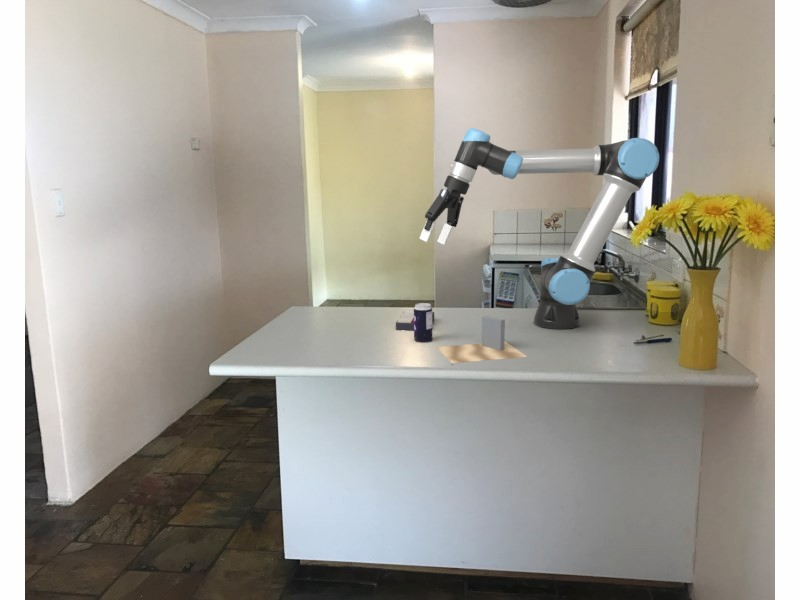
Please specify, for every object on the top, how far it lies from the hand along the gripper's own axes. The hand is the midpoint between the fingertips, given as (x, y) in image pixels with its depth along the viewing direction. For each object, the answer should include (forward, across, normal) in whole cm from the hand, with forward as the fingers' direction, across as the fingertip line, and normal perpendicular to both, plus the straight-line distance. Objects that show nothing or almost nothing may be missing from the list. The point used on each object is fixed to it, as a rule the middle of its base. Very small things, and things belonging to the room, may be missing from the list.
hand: (432, 241), depth 186 cm
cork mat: (+22, +9, +32) cm, 40 cm away
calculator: (+31, -13, +1) cm, 33 cm away
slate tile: (+20, +4, +33) cm, 39 cm away
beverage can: (+29, +5, +13) cm, 32 cm away
